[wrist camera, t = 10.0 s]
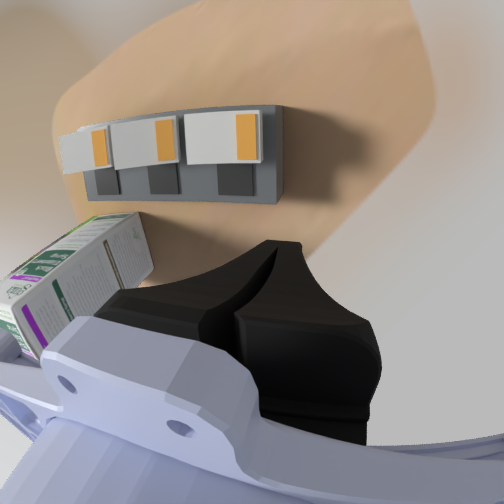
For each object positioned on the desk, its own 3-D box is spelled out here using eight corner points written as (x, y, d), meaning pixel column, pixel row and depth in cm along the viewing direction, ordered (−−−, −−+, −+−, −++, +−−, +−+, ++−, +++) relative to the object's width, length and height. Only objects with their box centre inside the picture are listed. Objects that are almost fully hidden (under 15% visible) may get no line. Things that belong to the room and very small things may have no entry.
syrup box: (139, 209, 25) (6, 303, 12) (157, 270, 27) (54, 383, 14) (93, 215, 26) (-26, 295, 13) (111, 270, 29) (12, 364, 16)
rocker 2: (181, 159, 18) (178, 162, 17) (120, 166, 18) (114, 170, 17) (178, 115, 17) (175, 115, 16) (116, 123, 16) (109, 124, 15)
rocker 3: (263, 159, 16) (260, 163, 15) (194, 160, 17) (186, 165, 16) (262, 109, 15) (259, 109, 14) (191, 113, 16) (183, 114, 15)
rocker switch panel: (283, 191, 21) (274, 208, 18) (110, 190, 24) (82, 203, 21) (282, 105, 18) (273, 104, 15) (102, 123, 22) (71, 129, 19)
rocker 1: (118, 163, 19) (111, 167, 18) (71, 170, 19) (62, 175, 18) (114, 124, 18) (106, 125, 17) (67, 134, 18) (57, 136, 17)
